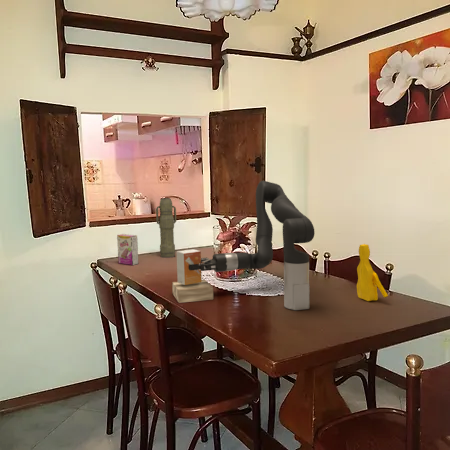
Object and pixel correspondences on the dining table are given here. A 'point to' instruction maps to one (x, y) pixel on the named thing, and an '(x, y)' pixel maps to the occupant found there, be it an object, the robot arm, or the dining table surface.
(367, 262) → the figure statuette
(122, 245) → the candy bar box
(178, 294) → the birch block
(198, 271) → the small box
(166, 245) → the thermos
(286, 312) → the dining table surface
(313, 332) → the dining table surface
